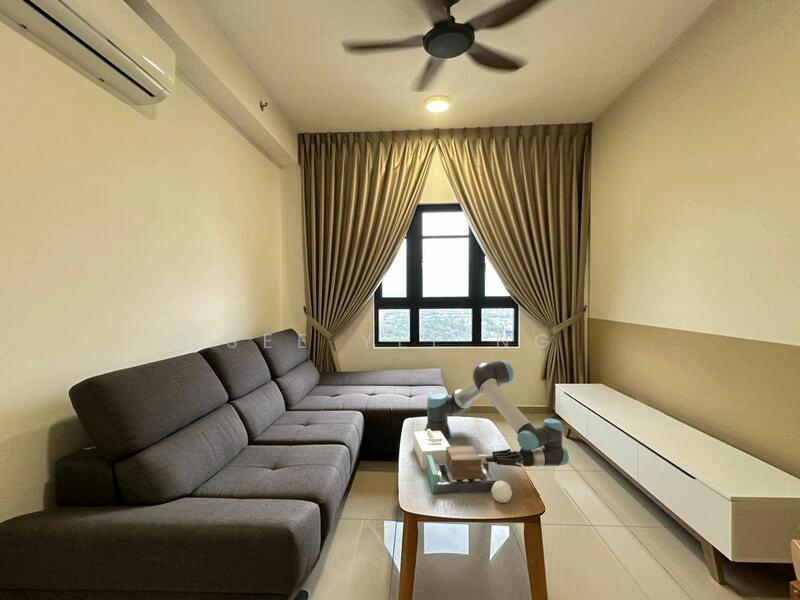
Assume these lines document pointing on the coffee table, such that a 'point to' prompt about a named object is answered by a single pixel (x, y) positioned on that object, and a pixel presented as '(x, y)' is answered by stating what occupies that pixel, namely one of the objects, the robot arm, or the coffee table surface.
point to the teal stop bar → (432, 473)
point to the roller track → (463, 481)
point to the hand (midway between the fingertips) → (478, 458)
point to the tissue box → (430, 446)
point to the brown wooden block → (463, 462)
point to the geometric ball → (501, 491)
